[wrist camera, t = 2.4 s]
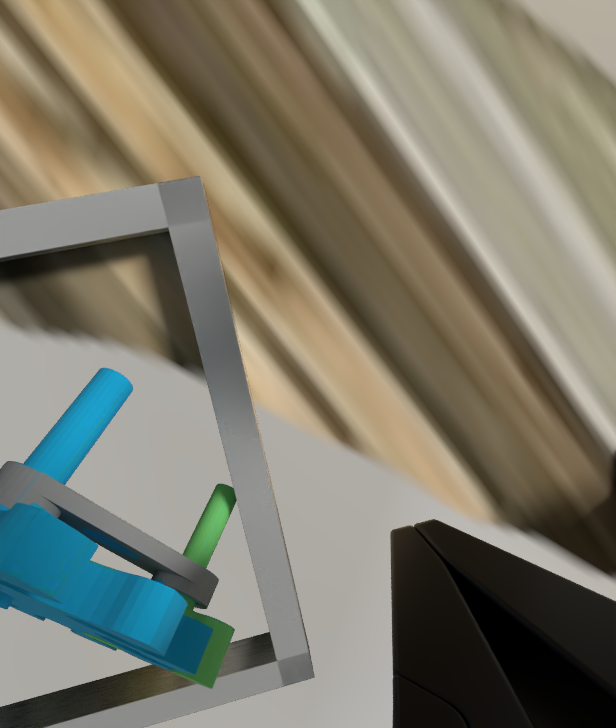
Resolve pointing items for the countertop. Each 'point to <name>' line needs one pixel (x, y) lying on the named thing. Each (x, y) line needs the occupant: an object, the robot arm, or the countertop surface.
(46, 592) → the gear
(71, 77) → the countertop surface
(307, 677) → the gray rectangular frame
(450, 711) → the robot arm
